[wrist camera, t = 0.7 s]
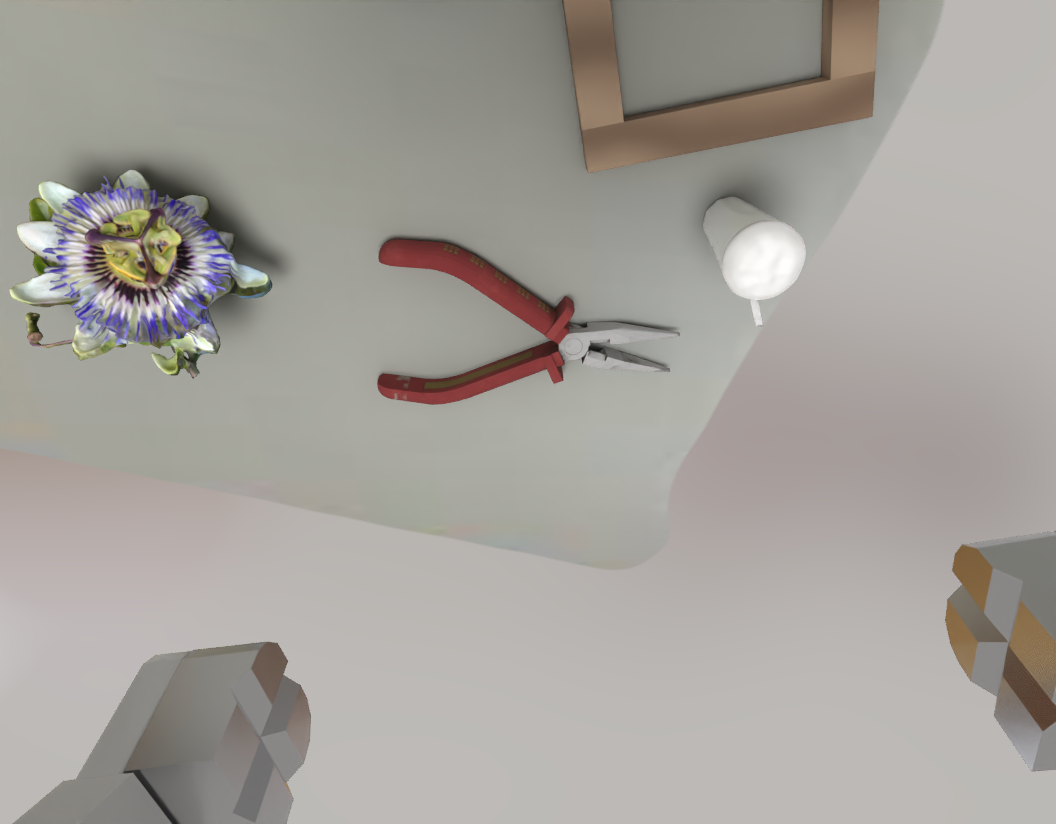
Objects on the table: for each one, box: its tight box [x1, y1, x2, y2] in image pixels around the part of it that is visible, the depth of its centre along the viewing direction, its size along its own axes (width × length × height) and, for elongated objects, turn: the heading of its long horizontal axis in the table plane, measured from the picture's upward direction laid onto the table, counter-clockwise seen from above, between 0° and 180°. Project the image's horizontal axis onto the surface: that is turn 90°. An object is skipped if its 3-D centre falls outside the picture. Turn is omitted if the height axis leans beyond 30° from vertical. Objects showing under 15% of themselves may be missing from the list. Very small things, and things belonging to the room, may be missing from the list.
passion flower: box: [10, 170, 272, 378], centre depth 44 cm, size 13×12×14 cm
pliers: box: [377, 239, 680, 405], centre depth 49 cm, size 12×21×3 cm, turn 83°
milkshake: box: [702, 196, 806, 326], centre depth 42 cm, size 4×5×10 cm
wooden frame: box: [562, 0, 879, 173], centre depth 39 cm, size 15×17×2 cm
